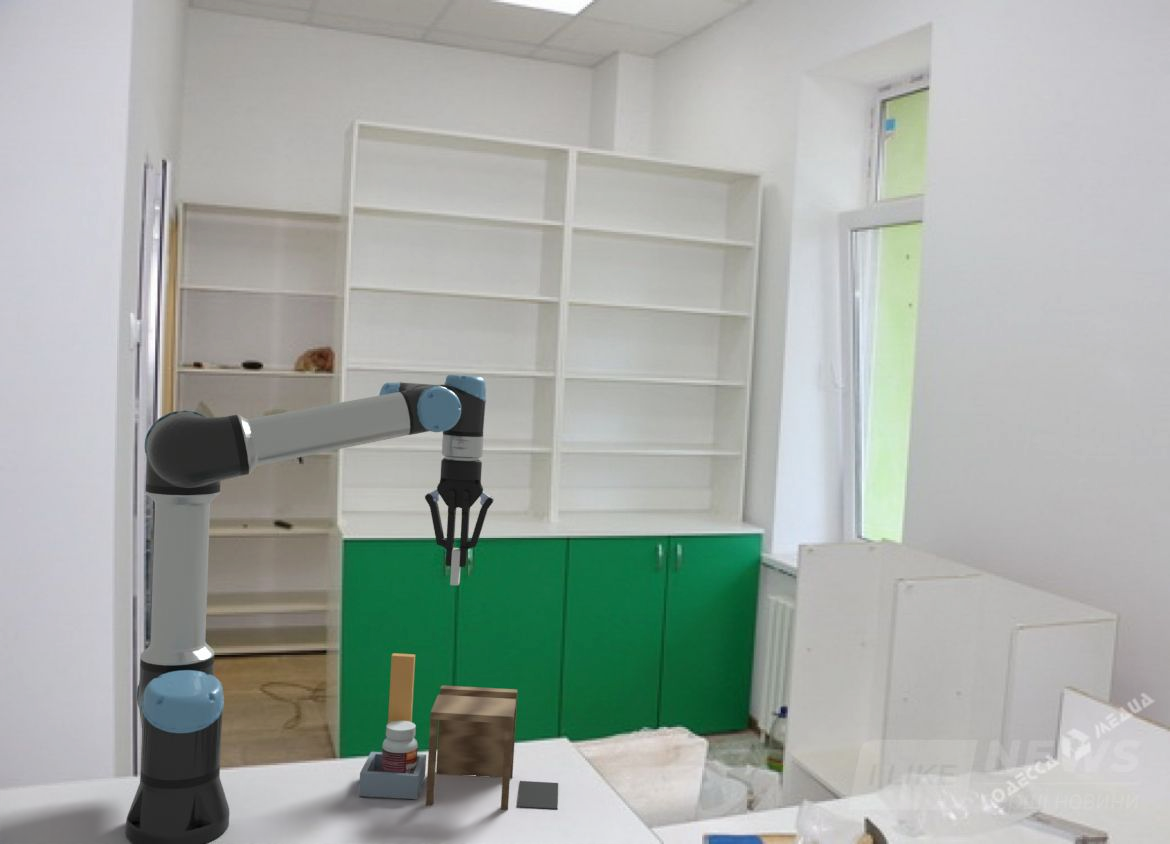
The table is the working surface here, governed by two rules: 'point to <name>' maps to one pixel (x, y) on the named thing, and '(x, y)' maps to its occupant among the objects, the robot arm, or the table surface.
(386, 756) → the pill bottle
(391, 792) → the tray with upright plank
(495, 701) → the wooden stand
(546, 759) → the table surface
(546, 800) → the mat
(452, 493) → the robot arm
